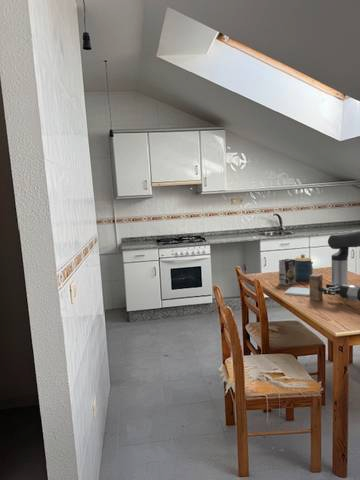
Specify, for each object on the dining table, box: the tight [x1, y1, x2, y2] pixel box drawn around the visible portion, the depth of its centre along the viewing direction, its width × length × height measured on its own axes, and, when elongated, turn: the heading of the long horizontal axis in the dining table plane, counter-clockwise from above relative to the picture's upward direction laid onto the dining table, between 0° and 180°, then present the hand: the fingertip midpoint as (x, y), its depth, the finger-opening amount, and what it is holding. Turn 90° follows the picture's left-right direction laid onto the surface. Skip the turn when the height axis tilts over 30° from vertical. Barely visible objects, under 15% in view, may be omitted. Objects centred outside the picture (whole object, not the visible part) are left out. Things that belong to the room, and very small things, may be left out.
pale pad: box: [284, 286, 310, 297], centre depth 227 cm, size 14×14×1 cm
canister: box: [294, 253, 314, 282], centre depth 257 cm, size 13×13×18 cm
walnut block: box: [309, 273, 324, 302], centre depth 210 cm, size 5×5×14 cm
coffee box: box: [278, 258, 296, 286], centre depth 248 cm, size 9×6×16 cm
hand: (322, 287), depth 207 cm, fingers open, 8 cm apart
